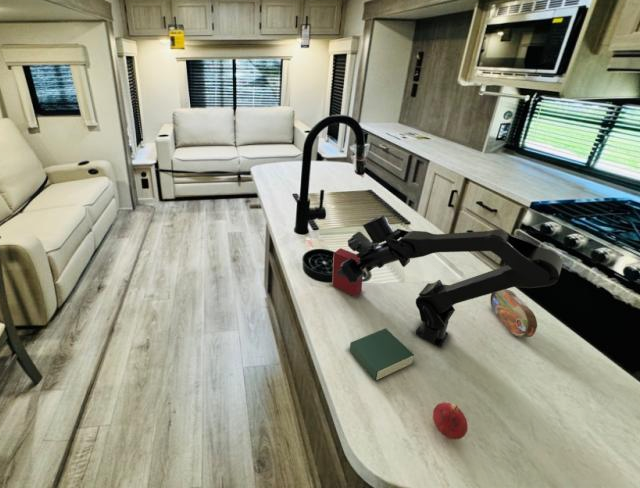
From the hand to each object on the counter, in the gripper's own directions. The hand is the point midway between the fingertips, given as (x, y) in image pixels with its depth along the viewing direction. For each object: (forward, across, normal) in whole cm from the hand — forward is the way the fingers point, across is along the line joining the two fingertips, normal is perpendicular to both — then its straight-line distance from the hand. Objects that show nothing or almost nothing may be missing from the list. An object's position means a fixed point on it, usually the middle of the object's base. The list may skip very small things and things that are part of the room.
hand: (344, 267), depth 103 cm
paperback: (+4, 0, +7) cm, 8 cm away
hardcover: (-11, +17, +20) cm, 29 cm away
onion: (-23, +25, +32) cm, 47 cm away
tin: (-25, -20, +34) cm, 47 cm away
